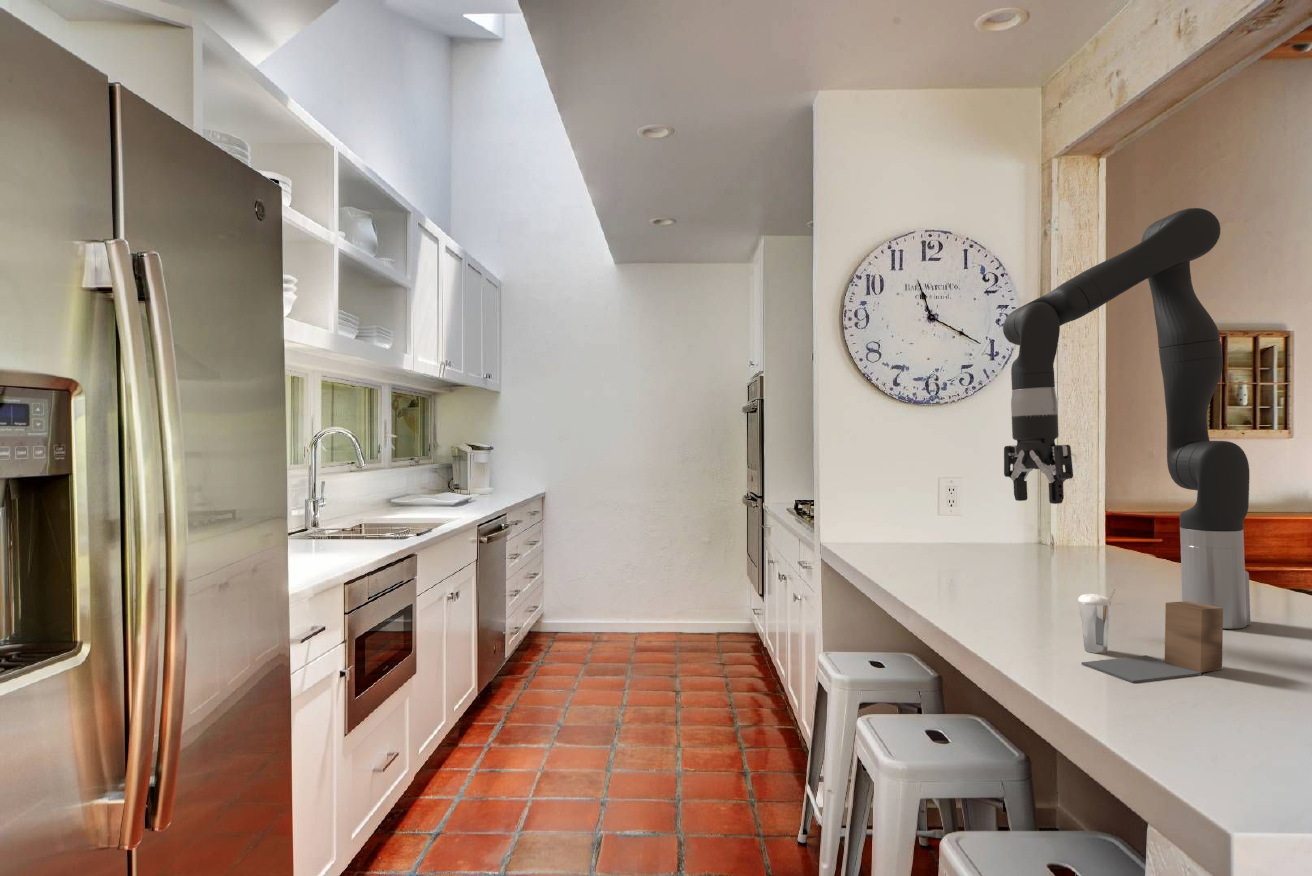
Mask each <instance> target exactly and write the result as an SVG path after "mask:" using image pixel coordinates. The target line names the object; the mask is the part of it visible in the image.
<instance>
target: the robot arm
mask: <svg viewBox="0 0 1312 876" xmlns="http://www.w3.org/2000/svg"><path fill="white" fill-rule="evenodd" d="M1220 236H1221V224H1220V221H1219V220H1218V218H1217V216H1216V215H1215V214H1214V213H1213V212H1211V211H1210V210H1207V209H1204V208H1202V207H1201V208H1200V207H1190V208H1185V209H1182V210H1179V211H1176V212H1174V213H1172V214H1169V215H1167V216H1165V217H1163V218H1160V219H1158V220H1156V221H1154V222H1153V223H1151V224H1150V225H1149V226H1148V227H1147V228H1145V230H1144V232H1143V234H1142V237H1141V240H1140V241H1141V242H1139V243H1138V244H1136V245H1134V246H1132V247H1131V248H1129V249H1128V250H1125V251H1123V252H1121V253H1119V254H1118V255H1114V256H1113V257H1110V258H1109V259H1106V260H1105V261H1103V262H1100V263H1098V264H1096V265H1094V266H1092V267H1090V268H1088V269H1086V270H1084V271H1082V272H1081V273H1079V274H1077V275H1075V276H1074V277H1072V278H1070V279H1068V280H1066V281H1065V282H1063V283H1061V284H1060V285H1059V286H1057V287H1056V288H1055V289H1053V290H1051V291H1050V292H1048V293H1046V294H1044V295H1042V296H1040V297H1037V298H1036V299H1034V300H1032V301H1030V302H1028V303H1025V304H1024V305H1022V306H1019V307H1018V308H1017V309H1014V310H1013V311H1012V312H1010V313H1009V314H1008V315H1007V316H1006V318H1005V320H1004V321H1003V326H1002V332H1003V334H1004V335H1003V336H1004V337H1005V339H1006V341H1008V342H1009V343H1011V344H1013V345H1017V346H1019V349H1018V350H1019V351H1018V356H1017V357H1016V359H1015V360H1013V362H1012V364H1011V370H1010V375H1011V379H1010V380H1011V390H1012V391H1011V398H1010V399H1011V400H1010V401H1011V402H1010V406H1011V407H1010V410H1011V411H1010V412H1011V413H1010V414H1011V430H1012V431H1011V432H1012V434H1011V435H1012V439H1013V440H1015V441H1016V445H1005V446H1004V448H1003V475H1004V477H1005V478H1010V480H1012V481H1013V484H1012V485H1013V495H1014V496H1013V497H1014V499H1015V501H1016V502H1017V501H1018V502H1021V501H1022V502H1023V501H1027V500H1028V483H1027V482H1028V481H1027V480H1026V479H1027V478H1028V475H1029V474H1030V472H1032V471H1033V470H1040V472H1041V474H1042V473H1043V474H1044V475H1045V476H1046V478H1047V480H1048V499H1049V503H1050V504H1054V505H1056V504H1057V505H1058V504H1062V503H1063V501H1064V498H1065V497H1064V496H1065V495H1064V494H1065V493H1064V482H1065V481H1067V480H1068V479H1069V480H1070V479H1073V478H1074V469H1073V458H1072V448H1071V445H1070V444H1056V442H1055V440H1056V439H1058V438H1059V437H1060V436H1059V435H1060V434H1059V419H1058V418H1059V416H1058V414H1059V412H1058V400H1057V399H1058V398H1057V393H1056V387H1055V385H1056V384H1055V383H1056V381H1055V368H1054V363H1055V358H1056V355H1057V350H1058V344H1059V339H1060V332H1061V331H1060V330H1061V328H1060V327H1061V326H1062V325H1065V324H1067V323H1069V322H1073V321H1076V320H1078V319H1080V318H1082V317H1084V316H1086V315H1089V313H1091V312H1093V311H1095V310H1096V309H1098V308H1101V306H1104V305H1105V304H1106V303H1107V304H1108V302H1110V301H1111V300H1113V299H1115V298H1116V297H1119V296H1120V295H1121V294H1123V293H1125V292H1127V291H1128V290H1130V289H1132V288H1133V287H1135V286H1137V285H1139V284H1140V283H1142V282H1143V281H1145V280H1148V281H1147V282H1148V284H1149V289H1150V292H1151V296H1152V297H1151V299H1152V304H1153V310H1154V312H1153V313H1154V318H1155V319H1154V320H1155V326H1156V331H1157V333H1156V335H1157V346H1158V354H1159V362H1160V369H1161V374H1162V381H1163V391H1164V403H1165V412H1166V413H1165V414H1166V462H1167V469H1168V472H1169V475H1170V478H1171V479H1172V480H1173V482H1174V483H1175V484H1176V485H1177V486H1178V487H1180V488H1182V489H1185V490H1189V491H1190V490H1191V491H1197V493H1196V501H1195V503H1194V505H1193V506H1192V507H1190V508H1188V509H1185V510H1184V511H1181V513H1180V515H1179V535H1180V536H1179V537H1180V538H1179V540H1180V567H1181V568H1180V569H1181V572H1180V573H1181V602H1183V601H1188V602H1194V603H1199V604H1204V605H1210V606H1215V607H1221V608H1223V629H1229V630H1230V629H1231V630H1233V629H1243V628H1246V627H1247V626H1249V625H1251V623H1252V622H1251V599H1250V598H1251V597H1250V596H1251V595H1250V594H1251V593H1250V592H1251V591H1250V573H1249V572H1248V571H1247V570H1246V568H1245V567H1246V565H1245V561H1246V560H1245V538H1244V537H1245V535H1244V523H1245V519H1246V517H1247V515H1248V512H1249V500H1250V499H1249V498H1250V465H1249V464H1250V463H1249V461H1248V457H1247V454H1246V453H1245V451H1244V450H1243V449H1242V447H1240V446H1239V445H1238V444H1236V443H1234V442H1231V441H1228V440H1211V439H1210V436H1209V429H1208V410H1209V405H1210V403H1211V400H1212V398H1213V395H1214V393H1215V391H1216V389H1217V386H1218V385H1219V382H1220V379H1221V375H1222V371H1223V364H1224V362H1223V361H1224V360H1223V352H1222V344H1221V337H1220V332H1219V328H1218V327H1217V324H1216V323H1215V321H1214V319H1213V318H1212V317H1211V315H1210V314H1209V312H1208V311H1207V310H1206V308H1205V307H1204V306H1203V304H1202V303H1201V301H1200V300H1199V298H1198V297H1197V294H1196V293H1195V290H1194V287H1193V282H1192V273H1191V261H1194V260H1196V259H1199V258H1201V257H1203V256H1205V255H1206V254H1208V253H1209V252H1210V251H1211V250H1213V248H1214V247H1216V245H1217V243H1218V241H1219V240H1220ZM1011 465H1012V470H1011Z"/></svg>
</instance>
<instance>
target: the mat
mask: <svg viewBox="0 0 1312 876" xmlns="http://www.w3.org/2000/svg"><path fill="white" fill-rule="evenodd" d="M1081 665H1082V666H1084V667H1088V668H1091V669H1093V670H1096V671H1099V672H1102V673H1104V674H1108V675H1110V676H1112V677H1115V678H1119V679H1122V680H1124V681H1126V682H1130V683H1132V684H1136V683H1141V682H1144V683H1145V682H1152V681H1160V680H1169V679H1176V678H1177V679H1178V678H1184V677H1186V678H1187V677H1194V676H1202V675H1203V674H1202V673H1203V672H1197V671H1193V670H1189V669H1186V668H1182V667H1178V666H1175V665H1171V664H1167V663H1165V660H1162V659H1159V658H1157V657H1153V656H1149V655H1139V656H1138V655H1137V656H1129V657H1119V658H1109V659H1100V660H1092V661H1084V662H1083V661H1082V662H1081Z"/></svg>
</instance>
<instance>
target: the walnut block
mask: <svg viewBox="0 0 1312 876" xmlns="http://www.w3.org/2000/svg"><path fill="white" fill-rule="evenodd" d="M1164 615H1165V618H1164V619H1165V620H1164V621H1165V623H1164V627H1165V628H1164V661H1165V663H1167V664H1171V665H1175V666H1178V667H1182V668H1186V669H1189V670H1193V671H1197V672H1201V673H1206V672H1207V673H1208V672H1214V671H1222V670H1223V631H1224V628H1223V608H1221V607H1215V606H1210V605H1204V604H1199V603H1194V602H1188V601H1183V602H1182V601H1171V602H1165V614H1164Z"/></svg>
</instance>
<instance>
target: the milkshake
mask: <svg viewBox="0 0 1312 876" xmlns="http://www.w3.org/2000/svg"><path fill="white" fill-rule="evenodd" d="M1115 591H1116V588H1114V589H1113V591H1112V593H1111V596H1110V597H1109V598H1108V597H1106V596H1103V595H1101V594H1096V593H1084V594H1081V595H1079V597H1078V598H1077V602H1078V610H1079V617H1080V622H1081V630H1082V639H1083V647H1084V649H1083V650H1084V651H1086V652H1088V653H1093V654H1106V653H1108V650H1109V649H1108V648H1109V647H1108V646H1109V631H1110V630H1109V629H1110V628H1109V627H1110V617H1111V609H1112V608H1111V605H1112V602H1111V600H1112V599H1113V597H1114V594H1115Z"/></svg>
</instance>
